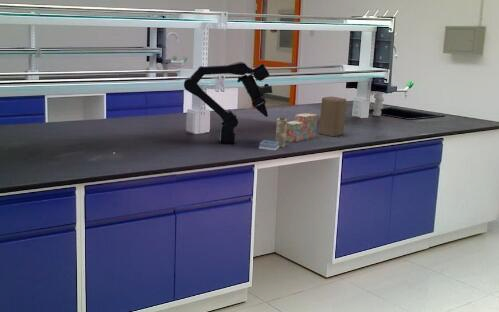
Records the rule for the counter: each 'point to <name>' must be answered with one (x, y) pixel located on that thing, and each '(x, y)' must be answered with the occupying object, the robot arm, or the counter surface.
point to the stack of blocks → (301, 127)
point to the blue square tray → (269, 145)
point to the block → (332, 116)
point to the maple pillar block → (281, 131)
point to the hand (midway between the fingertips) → (266, 115)
